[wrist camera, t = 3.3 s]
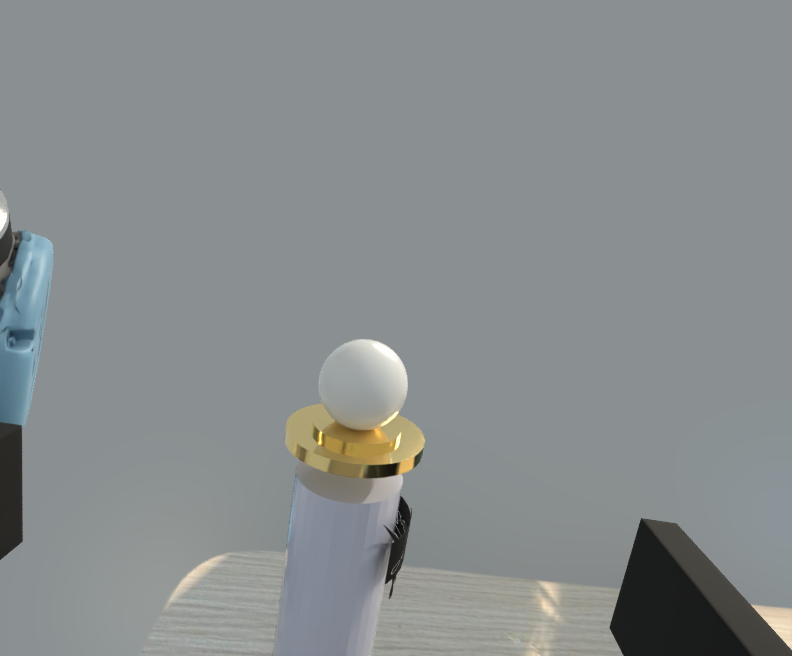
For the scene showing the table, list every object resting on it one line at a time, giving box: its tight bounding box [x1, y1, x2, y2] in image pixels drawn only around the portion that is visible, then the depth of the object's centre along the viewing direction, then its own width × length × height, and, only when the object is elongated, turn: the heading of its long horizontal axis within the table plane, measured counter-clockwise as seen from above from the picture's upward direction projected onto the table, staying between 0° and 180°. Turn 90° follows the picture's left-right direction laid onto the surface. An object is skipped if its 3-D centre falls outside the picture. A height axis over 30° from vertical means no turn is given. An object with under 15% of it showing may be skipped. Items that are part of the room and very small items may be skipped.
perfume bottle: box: [273, 339, 425, 656], centre depth 22 cm, size 6×6×20 cm
